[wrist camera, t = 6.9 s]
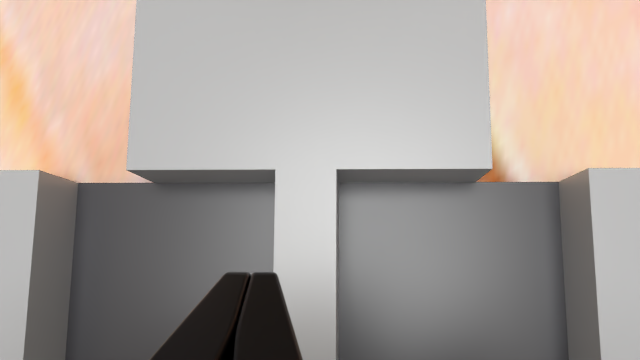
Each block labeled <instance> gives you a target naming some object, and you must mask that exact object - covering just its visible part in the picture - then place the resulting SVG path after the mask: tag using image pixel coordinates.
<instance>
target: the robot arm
mask: <svg viewBox="0 0 640 360" xmlns="http://www.w3.org/2000/svg"><path fill="white" fill-rule="evenodd" d="M149 360H303V359H302V355H301V352H300V348H299V345H298V342H297V338H296V335H295V332H294V328H293V325H292V322H291V318H290V315H289V312H288V308H287V305H286V302H285V298H284V295H283V291H282V288H281V285H280V281H279V278H278V275H277V274H276V273H275V272H254V273H253V274H252V275H251V274H250V273H249V272H227V273H225V274H224V275H223V276H222V277H221V278H220V279H219V280H218V281H217V283H216V284H215V285H214V286H213V287H212V288H211V289H210V291H209V292H208V293H207V294H206V295H205V296H204V297H203V299H202V300H201V301H200V302H199V303H198V304H197V305H196V307H195V308H194V309H193V310H192V311H191V312H190V313H189V315H188V316H187V317H186V318H185V319H184V320H183V321H182V323H181V324H180V325H179V326H178V327H177V328H176V329H175V331H174V332H173V333H172V334H171V335H170V336H169V337H168V339H167V340H166V341H165V342H164V343H163V344H162V345H161V347H160V348H159V349H158V350H157V351H156V352H155V353H154V355H153V356H152V357H151V358H150V359H149Z"/></svg>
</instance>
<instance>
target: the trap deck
mask: <svg viewBox="0 0 640 360" xmlns="http://www.w3.org/2000/svg"><path fill="white" fill-rule="evenodd" d="M491 169H492V146H491V121H490V96H489V71H488V46H487V21H486V0H137V4H136V20H135V37H134V53H133V70H132V86H131V103H130V119H129V135H128V152H127V168H126V170H128V171H130V172H132V173H134V174H136V175H139V176H141V177H143V178H145V179H147V180H150V181H152V182H154V183H76V182H73V181H70V180H67V179H64V178H61V177H58V176H55V175H52V174H49V173H46V172H43V171H40V170H0V360H149V359H150V358H151V357H152V356H153V355H154V353H155V352H156V351H157V350H158V349H159V348H160V347H161V345H162V344H163V343H164V342H165V341H166V340H167V339H168V337H169V336H170V335H171V334H172V333H173V332H174V331H175V329H176V328H177V327H178V326H179V325H180V324H181V323H182V321H183V320H184V319H185V318H186V317H187V316H188V315H189V313H190V312H191V311H192V310H193V309H194V308H195V307H196V305H197V304H198V303H199V302H200V301H201V300H202V299H203V297H204V296H205V295H206V294H207V293H208V292H209V291H210V289H211V288H212V287H213V286H214V285H215V284H216V283H217V281H218V280H219V279H220V278H221V277H222V276H223V275H224V274H225V273H227V272H249V273H250V274H251V275H252V274H253V273H254V272H275V273H276V274H277V275H278V278H279V281H280V285H281V288H282V291H283V295H284V298H285V302H286V305H287V308H288V312H289V315H290V318H291V322H292V325H293V328H294V332H295V335H296V338H297V342H298V345H299V348H300V352H301V355H302V359H303V360H640V168H588V169H586V170H584V171H581V172H579V173H577V174H575V175H573V176H571V177H568V178H566V179H564V180H562V181H560V182H476V181H477V180H479V179H480V178H481V177H482V176H484V175H485V174H486V173H487V172H489V171H490V170H491Z"/></svg>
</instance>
